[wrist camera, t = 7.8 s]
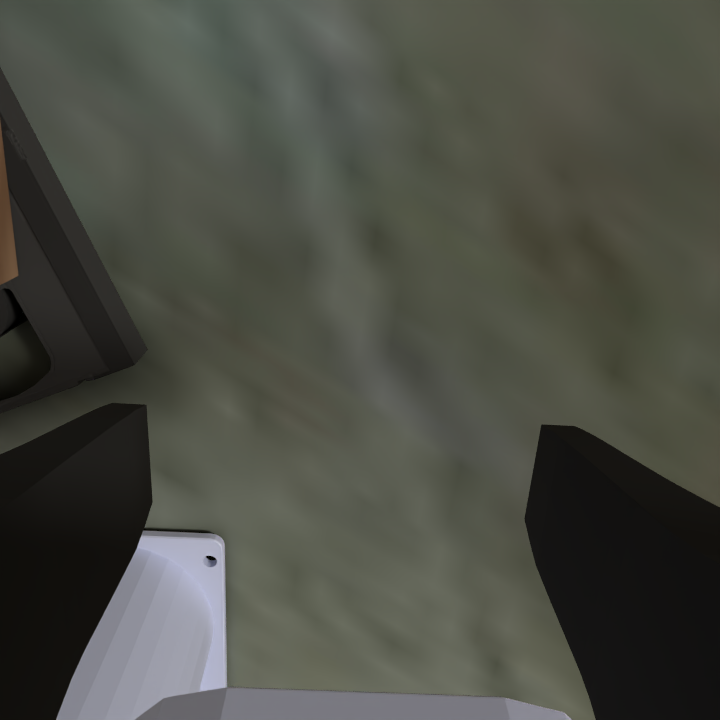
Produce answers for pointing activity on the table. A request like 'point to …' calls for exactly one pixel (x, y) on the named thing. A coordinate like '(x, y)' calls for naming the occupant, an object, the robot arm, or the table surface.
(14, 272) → the walnut block
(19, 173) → the vhs tape
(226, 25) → the table surface
